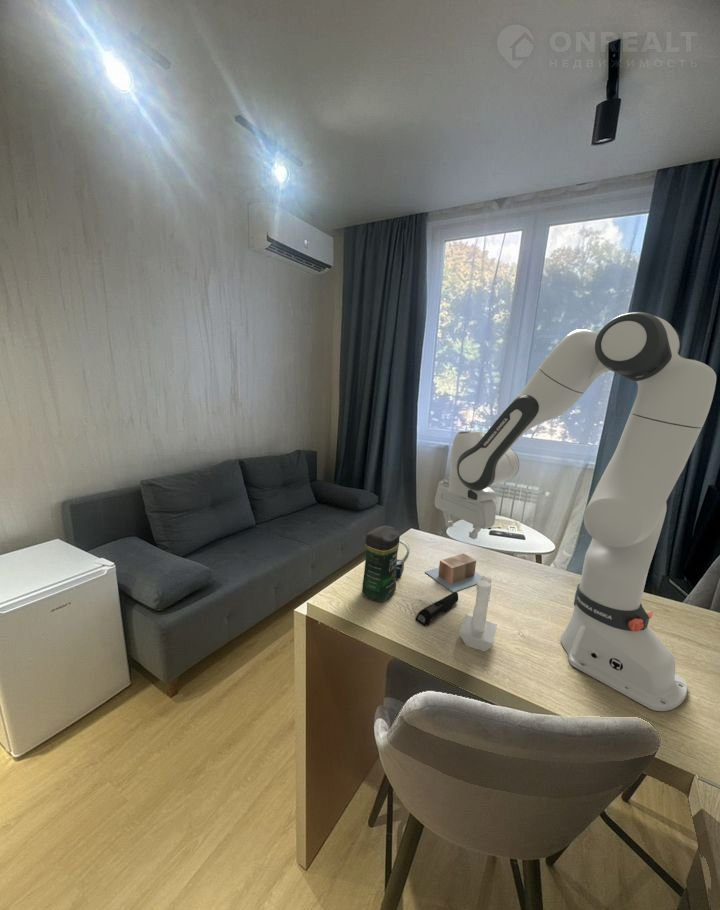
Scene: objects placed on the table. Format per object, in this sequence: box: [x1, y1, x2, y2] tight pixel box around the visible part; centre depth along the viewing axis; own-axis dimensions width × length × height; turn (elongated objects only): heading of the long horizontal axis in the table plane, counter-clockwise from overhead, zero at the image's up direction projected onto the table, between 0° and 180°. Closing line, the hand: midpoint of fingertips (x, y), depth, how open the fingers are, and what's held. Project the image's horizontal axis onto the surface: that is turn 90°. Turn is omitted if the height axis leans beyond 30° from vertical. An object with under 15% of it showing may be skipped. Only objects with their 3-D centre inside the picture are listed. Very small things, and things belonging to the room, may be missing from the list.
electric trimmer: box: [415, 591, 459, 627], centre depth 95 cm, size 4×15×3 cm, turn 132°
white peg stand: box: [458, 575, 498, 653], centre depth 83 cm, size 7×9×15 cm
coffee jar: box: [361, 524, 401, 602], centre depth 100 cm, size 10×8×19 cm
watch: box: [396, 537, 411, 580], centre depth 112 cm, size 6×8×11 cm
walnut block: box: [438, 553, 477, 584], centre depth 112 cm, size 5×5×10 cm
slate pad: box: [424, 567, 483, 593], centre depth 112 cm, size 12×14×1 cm
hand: (460, 532), depth 109 cm, fingers open, 8 cm apart
